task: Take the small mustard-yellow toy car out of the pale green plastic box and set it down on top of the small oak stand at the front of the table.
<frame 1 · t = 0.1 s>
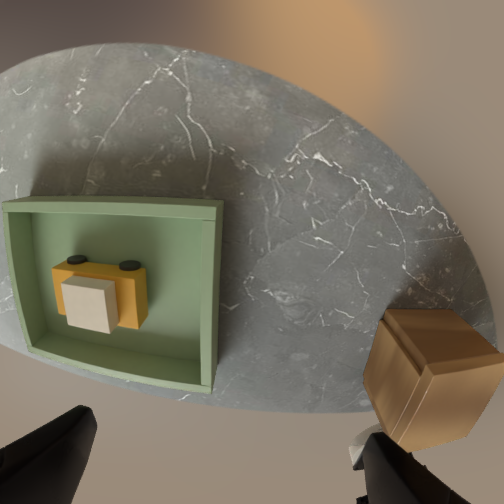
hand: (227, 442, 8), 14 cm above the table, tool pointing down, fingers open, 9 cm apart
small car: (108, 284, 21), point 1 cm above the table, touching green box
green box: (111, 281, 22), on the table
oak stand: (454, 412, 14), on the table
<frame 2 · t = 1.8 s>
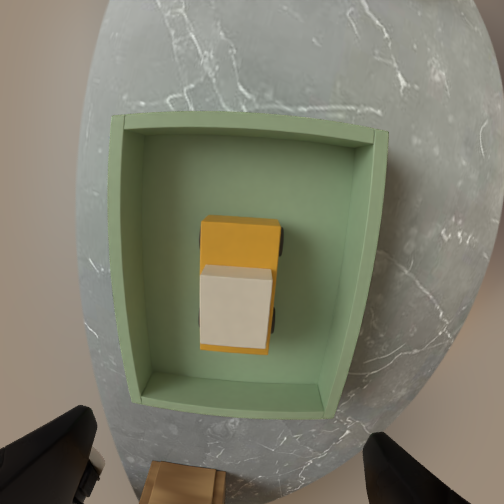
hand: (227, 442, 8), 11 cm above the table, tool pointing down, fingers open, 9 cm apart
small car: (239, 275, 18), point 1 cm above the table, touching green box
green box: (240, 272, 18), on the table
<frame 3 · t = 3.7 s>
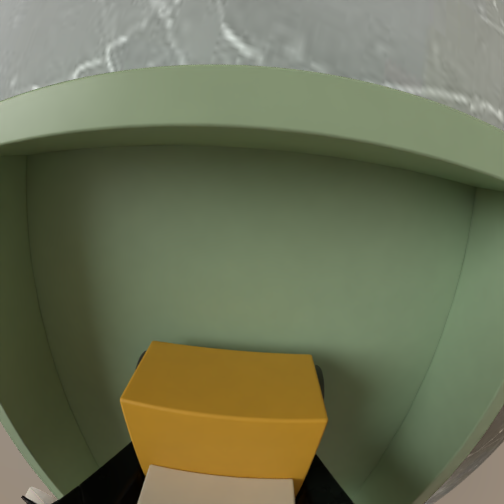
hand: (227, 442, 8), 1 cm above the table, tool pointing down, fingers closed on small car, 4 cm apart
small car: (228, 427, 8), point 1 cm above the table, touching green box, gripper
green box: (230, 414, 9), on the table
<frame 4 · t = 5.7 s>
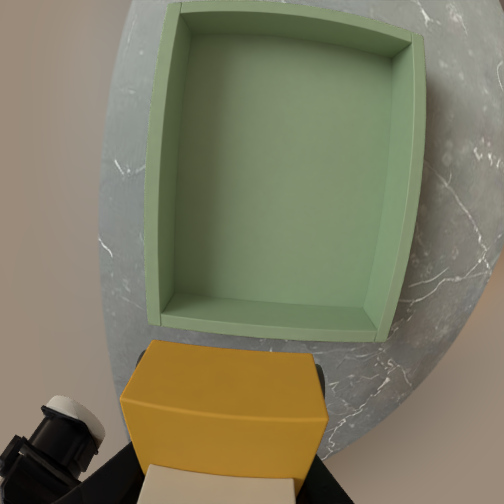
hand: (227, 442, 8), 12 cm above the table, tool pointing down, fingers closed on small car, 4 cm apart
small car: (228, 427, 8), point 11 cm above the table, touching gripper
green box: (284, 167, 16), on the table
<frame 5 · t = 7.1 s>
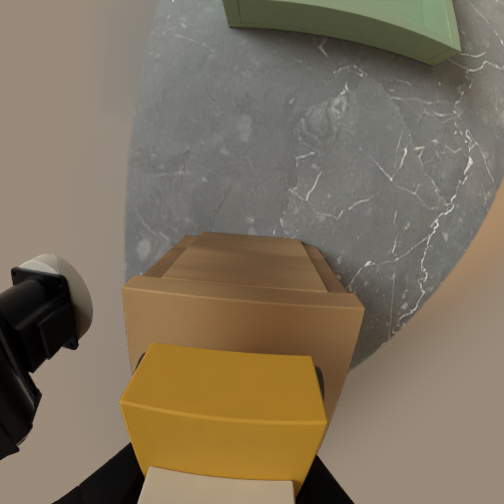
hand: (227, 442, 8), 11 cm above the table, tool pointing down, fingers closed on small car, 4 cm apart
small car: (228, 428, 8), point 11 cm above the table, touching gripper
oak stand: (235, 395, 10), on the table
when the fingers open (10 cm above the table, at t = 8.0 s): small car stays where it is, resting on oak stand.
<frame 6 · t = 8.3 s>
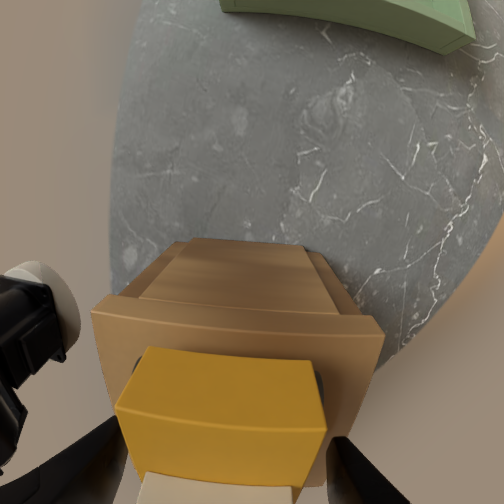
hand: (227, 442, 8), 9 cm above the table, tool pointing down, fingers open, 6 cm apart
small car: (226, 432, 8), point 9 cm above the table, touching oak stand
oak stand: (229, 432, 8), on the table
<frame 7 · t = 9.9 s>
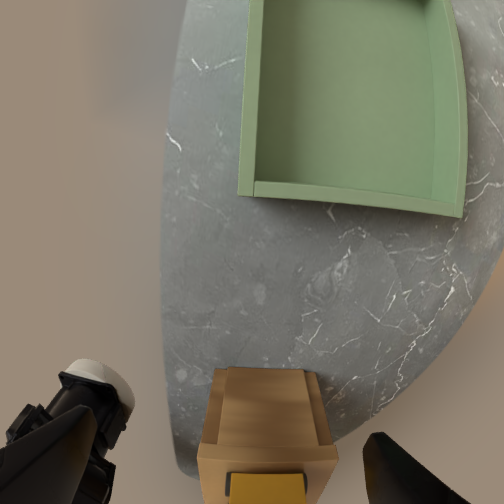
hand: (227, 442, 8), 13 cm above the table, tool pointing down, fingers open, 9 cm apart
small car: (262, 492, 14), point 9 cm above the table, touching oak stand
green box: (353, 70, 16), on the table
oak stand: (263, 492, 14), on the table
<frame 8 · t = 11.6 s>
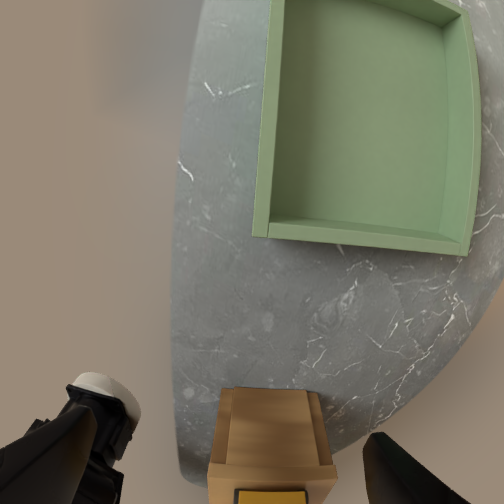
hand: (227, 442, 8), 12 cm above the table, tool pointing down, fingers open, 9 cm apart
green box: (369, 101, 16), on the table
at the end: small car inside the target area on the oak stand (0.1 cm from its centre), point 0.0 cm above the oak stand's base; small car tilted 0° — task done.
